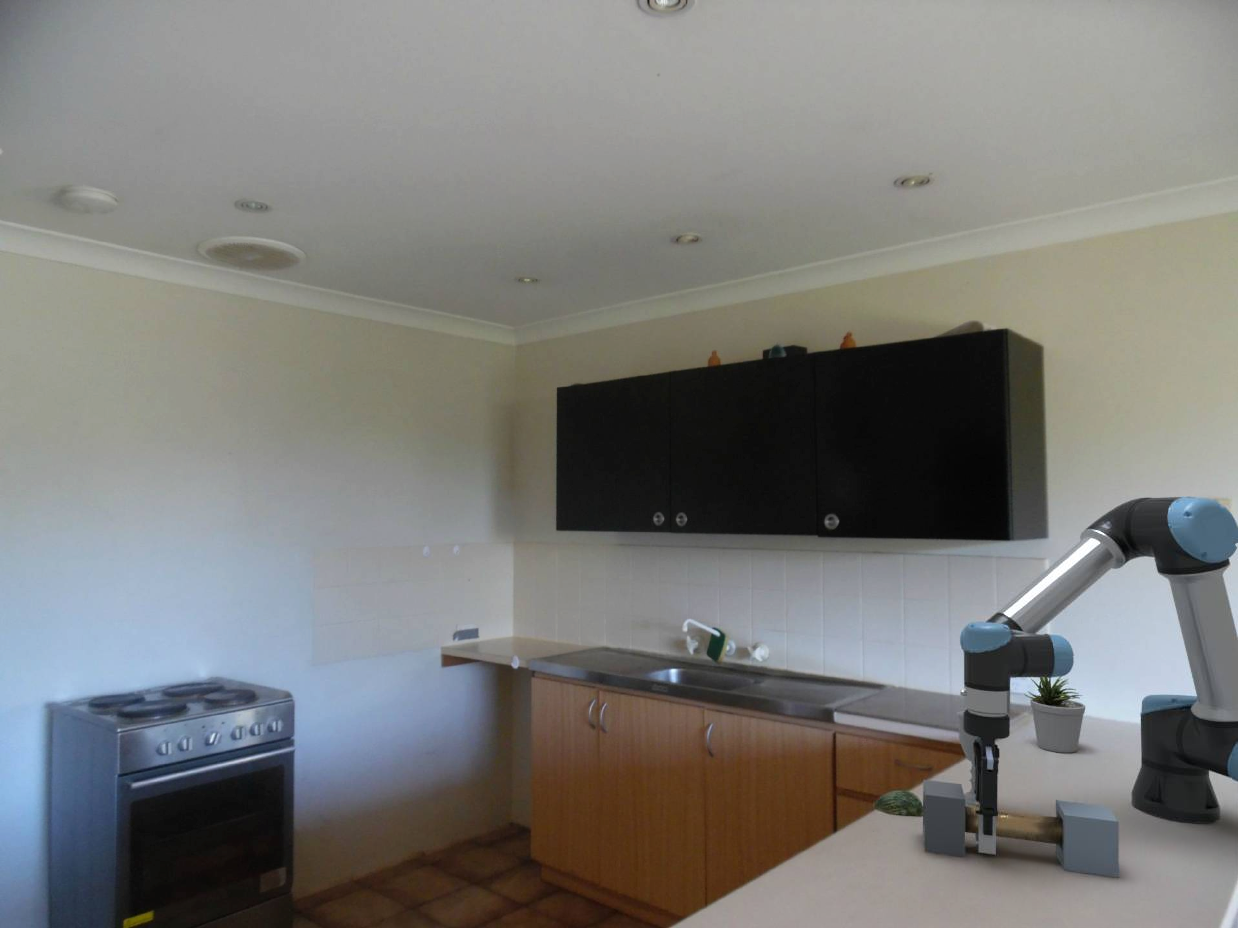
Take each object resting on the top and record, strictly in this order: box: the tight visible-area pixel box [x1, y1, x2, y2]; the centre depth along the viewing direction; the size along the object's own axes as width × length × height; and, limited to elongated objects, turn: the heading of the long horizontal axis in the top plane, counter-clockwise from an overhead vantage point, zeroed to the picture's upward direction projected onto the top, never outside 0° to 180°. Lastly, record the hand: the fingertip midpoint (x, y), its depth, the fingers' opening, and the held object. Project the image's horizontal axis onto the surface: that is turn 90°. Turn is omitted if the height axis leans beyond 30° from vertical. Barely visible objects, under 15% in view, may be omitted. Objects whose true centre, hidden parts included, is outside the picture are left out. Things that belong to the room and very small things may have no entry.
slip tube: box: [965, 806, 1063, 845], centre depth 151 cm, size 22×4×4 cm, turn 73°
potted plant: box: [1024, 676, 1086, 754], centre depth 221 cm, size 13×14×20 cm
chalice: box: [956, 710, 979, 807], centre depth 175 cm, size 7×7×18 cm
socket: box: [922, 779, 966, 858], centre depth 153 cm, size 6×9×10 cm
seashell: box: [872, 790, 923, 817], centre depth 172 cm, size 10×4×10 cm
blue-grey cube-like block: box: [1055, 799, 1120, 879], centre depth 147 cm, size 8×8×9 cm
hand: (985, 846), depth 151 cm, fingers open, 4 cm apart
